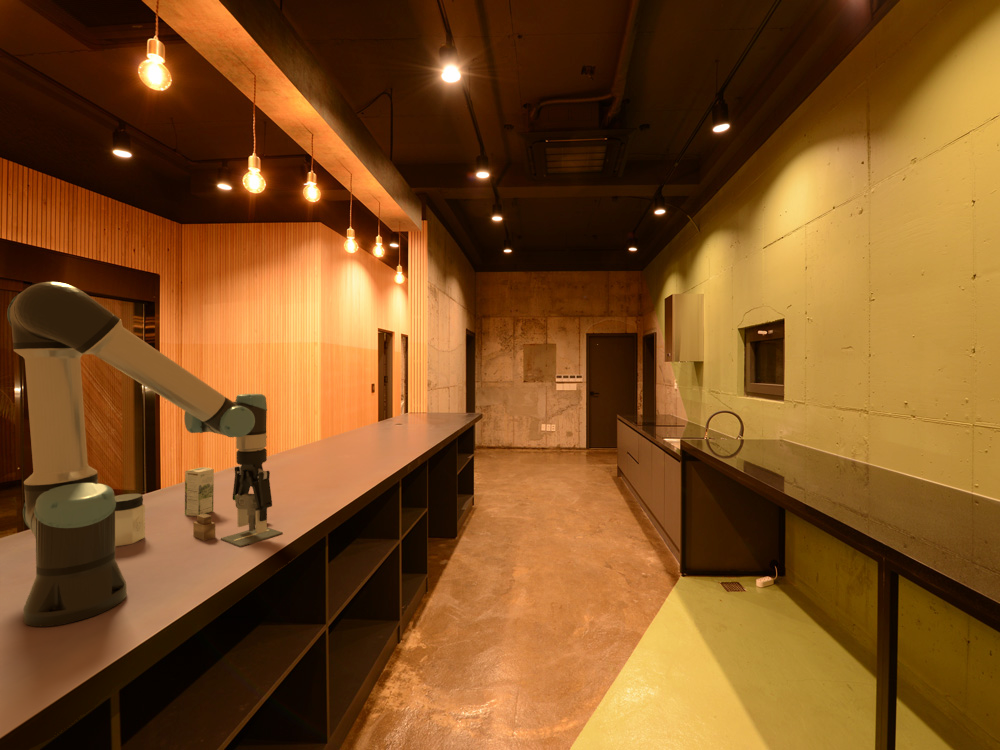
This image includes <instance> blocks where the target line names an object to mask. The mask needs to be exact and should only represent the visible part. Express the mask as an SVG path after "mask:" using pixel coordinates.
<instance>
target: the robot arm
mask: <svg viewBox="0 0 1000 750" xmlns="http://www.w3.org/2000/svg"><path fill="white" fill-rule="evenodd" d="M7 320H8V322H9V325H10V327H11V335H12V336H11V337H12V348H13V352H14V353H16V354H18V355H19V356H21V357H23V359H24V364H25V365H24V366H25V367H24V368H25V378H26V379H25V381H26V392H27V393H26V394H27V404H28V418H29V419H28V420H29V430H30V442H31V455H32V456H31V458H32V469H33V470H32V471H33V472H32V474H30V475H29V476H28V477H27V478H26V479H25V480H24V481H23V486H24V487H23V488H24V501H25V502H24V503H23V509H22V516H23V521H24V523H25V525H26V526H27V528H28V529H29V530H30V531H32V532H31V533H32V534H33V535H34V538H35V565H36V566H35V568H36V570H35V571H36V574H35V575H36V576H35V580H34V582H33V584H32V586H31V588H30V592H29V593H28V596H27V599H26V601H25V604H24V606H23V623H24V624H25V625H28V626H31V627H38V628H39V627H42V628H43V627H54V626H61V625H66V624H71V623H75V622H79V621H81V620H85V619H89V618H92V617H94V616H97V615H99V614H102V613H104V612H106V611H109V610H110V609H112V608H114V607H116V606H117V605H119V604H120V603H122V602H123V601H124V600H125V599H126V597H127V582H126V579H125V577H124V575H123V574H122V571H121V569H120V567H119V565H118V563H117V560H116V546H115V507H116V499H115V496H116V495H115V492H114V489H113V488H112V487H111V486H109V485H107V484H103V483H99V475H98V470H97V469H95V468H93V466H90V465H89V462H88V447H87V437H86V435H87V434H86V433H87V432H86V420H85V406H84V390H83V378H82V364H81V363H82V361H81V358H82V356H83V355H94V356H95V357H97V358H98V359H100V360H101V361H103V362H105V363H106V364H108V365H109V366H111V367H113V368H115V369H116V370H118V371H120V372H122V373H123V374H124V375H126V376H128V377H129V378H131V379H133V380H134V381H136V382H138V383H139V384H141V385H142V386H144V387H145V388H147V389H149V390H150V391H152V392H153V393H155V394H157V395H159V396H161V398H164V399H165V400H167V401H168V402H170V403H171V404H173V405H175V406H176V407H178V408H180V409H181V410H183V411H184V420H183V421H184V425H185V428H186V430H187V432H189V433H191V434H197V433H198V434H203V433H213V434H218V435H222V436H226V437H228V438H236V441H235V443H236V444H235V445H236V447H235V448H236V449H237V450H236V453H235V454H236V455H235V456H236V464H237V465H239V466H234V480H233V481H234V483H233V488H232V489H233V492H232V500H233V501H235V500H234V497H235V495H238V494H240V495H241V496H242V495H243V494H244V493H248V494H250V489H251V488H252V491H253V494H254V496H255V500H256V504H257V508H256V509H255V510H256V525H255V528H256V534H258V533H262V532H265V531H267V527H268V526H267V525H268V508H271V507H273V499H272V492H271V483H270V475H271V474H270V473H271V471H270V470H264V468H263V463H266V462H267V459H268V458H267V457H268V455H267V453H268V451H267V448H266V447H267V438H268V436H267V419H268V418H267V417H268V416H267V415H268V413H267V411H268V407H267V406H268V405H267V397H266V396H265V395H264V394H262V393H243V394H239V393H238V394H237V395H236V398H235V401H232V400H231V399H229V398H228V397H226V396H225V395H223V394H222V393H221V392H219V391H217V390H216V389H214V388H213V387H212V386H210V385H208V384H207V383H206V382H205V381H203V380H201V379H200V378H199V377H197V376H196V375H194V374H193V373H191V372H190V371H188V370H187V369H185V368H184V367H182V366H181V365H179V363H177V362H176V361H173V360H172V359H171V358H170V357H168V356H167V355H165V354H164V353H162V352H160V351H159V350H158V349H156V348H154V347H153V346H152V345H150V344H149V343H147V342H146V341H144V340H143V339H141V338H140V337H138V336H137V335H136V334H134V333H133V332H131V331H130V330H129V329H127V328H126V327H124V326H123V325H124V324H123V322H122V319H121V318H120V317H118V316H117V315H116V314H114V313H113V312H112V311H110V309H108V308H106V307H105V306H103V305H102V304H100V303H99V302H98V301H97V300H95V299H94V298H92V297H91V296H90V295H89V294H87V292H85V291H82V290H81V289H79V288H77V287H75V286H73V285H70V284H68V283H64V282H58V281H45V282H38V283H34V284H32V285H31V286H28V287H27V288H25V289H24V290H23V291H21V292H20V293H18V294H17V295H16V296H14V297H13V298H12V300H10V303H9V305H8V308H7ZM245 526H249V522H248V515H247V510H246V509H238V508H237V528H241V527H245Z"/></svg>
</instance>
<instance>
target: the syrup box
mask: <svg viewBox="0 0 1000 750" xmlns="http://www.w3.org/2000/svg"><path fill="white" fill-rule="evenodd" d="M214 471H215V470H214V469H213V468H211V467H204V466H203V467H198V468H197V467H196V468H193V469H188V470H185V471H184V515H185V516H191V517H193V516H194V517H197V515H201V514H207V515H208V514H209V513H212V512H214V488H215V487H214V485H215V484H214V482H215V481H214V480H215V479H214V478H215V476H214V475H215V474H214V473H215V472H214Z"/></svg>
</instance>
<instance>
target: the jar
mask: <svg viewBox="0 0 1000 750" xmlns="http://www.w3.org/2000/svg"><path fill="white" fill-rule="evenodd" d="M114 496H115V499H116V507H115V547H121V546H127V545H133V544H135V543H137V542H139V541H140V540H143V539H145V538H146V526H145V525H146V522H145V520H146V517H145V516H146V514H145V512H146V511H145V509H146V508H145V507H146V505H145V504H144V498H143V494H141V493H126V494H119V495H114Z"/></svg>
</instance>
